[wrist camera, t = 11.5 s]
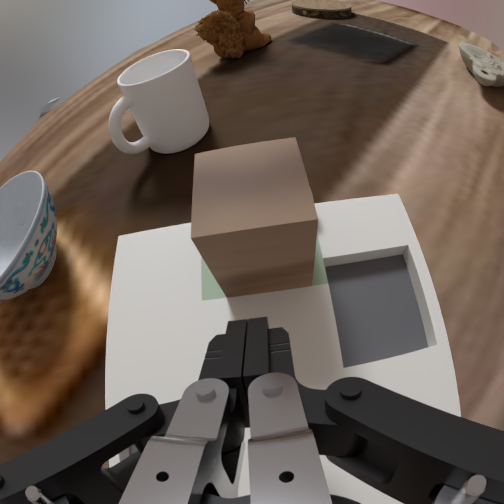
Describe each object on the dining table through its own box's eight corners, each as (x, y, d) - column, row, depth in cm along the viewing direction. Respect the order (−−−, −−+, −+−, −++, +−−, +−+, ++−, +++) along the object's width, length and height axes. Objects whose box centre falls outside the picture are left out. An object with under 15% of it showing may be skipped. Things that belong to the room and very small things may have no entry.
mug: (151, 186, 30) (110, 113, 21) (116, 164, 34) (78, 102, 25) (224, 123, 34) (205, 51, 25) (182, 109, 37) (160, 48, 28)
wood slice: (363, 18, 54) (363, 9, 52) (310, 21, 53) (309, 11, 51) (331, 5, 62) (330, -3, 59) (282, 9, 61) (281, 1, 59)
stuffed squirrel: (273, 39, 48) (265, -18, 36) (247, 66, 42) (234, -4, 31) (228, 39, 51) (217, -13, 39) (196, 66, 45) (178, 4, 33)
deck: (449, 531, 10) (471, 546, 7) (140, 560, 12) (117, 576, 8) (392, 207, 25) (403, 178, 21) (128, 247, 27) (107, 223, 23)
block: (311, 285, 20) (318, 219, 13) (226, 297, 21) (190, 237, 14) (298, 216, 23) (295, 137, 16) (223, 227, 24) (194, 153, 17)
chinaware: (106, 239, 28) (64, 192, 21) (29, 351, 23) (-26, 326, 16) (53, 195, 33) (21, 159, 27) (-8, 280, 28) (-46, 252, 22)
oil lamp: (512, 119, 30) (521, 97, 26) (443, 78, 36) (448, 55, 32) (512, 85, 36) (518, 68, 32) (459, 55, 42) (463, 37, 38)
